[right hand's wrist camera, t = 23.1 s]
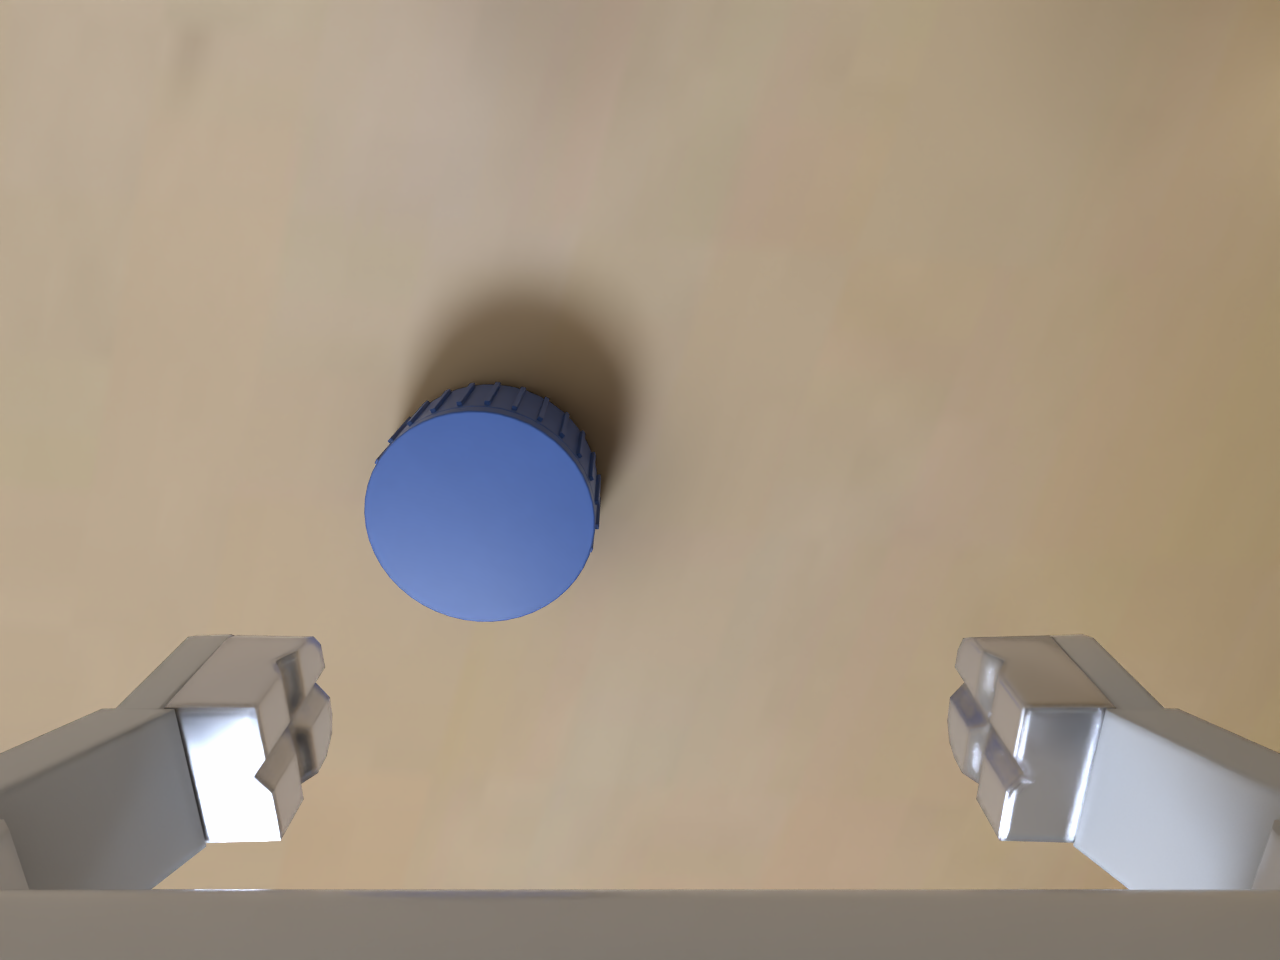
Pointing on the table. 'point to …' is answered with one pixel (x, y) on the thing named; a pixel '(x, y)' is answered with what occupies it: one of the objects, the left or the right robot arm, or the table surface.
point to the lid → (484, 503)
